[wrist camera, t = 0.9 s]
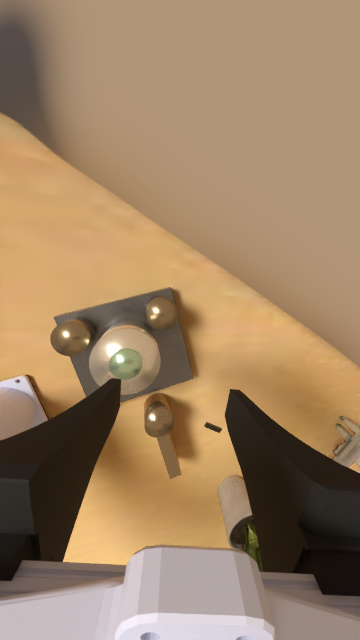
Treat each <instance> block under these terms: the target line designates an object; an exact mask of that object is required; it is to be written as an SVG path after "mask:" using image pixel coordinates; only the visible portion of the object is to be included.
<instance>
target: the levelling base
mask: <svg viewBox="0 0 360 640" xmlns="http://www.w3.org/2000/svg"><path fill="white" fill-rule="evenodd" d="M178 317H179V310H178V308H177V306H176V304H175V302H174V298H173V294H172V290H171V287H169V288H165V289H161V290H157V291H153V292H149V293H145V294H141V295H137V296H133V297H129V298H125V299H121V300H117V301H113V302H109V303H105V304H101V305H97V306H93V307H89V308H85V309H81V310H77V311H73V312H69V313H65V314H61V315H58V316H55V317H54V319H55V321H56V324H57V327H56V328H55V329H54V330H53V331H52V333H51V344H52V346H53V348H54V349H55V350H56V351H57V352H58V353H60V354H62V355H65V356H70V358H71V361H72V363H73V366H74V368H75V371H76V373H77V376H78V378H79V380H80V383H81V385H82V388H83V390H84V393H85V395H86V397H88V396H89V395H90V394H92V393H93V392H94V391H96V390H97V389H98V388H99V387H101V386H102V385H103V384H105V383H106V382H107V381H108V380H110V379H111V378H117V379H121V396H120V402H123V401H126V400H129V399H132V398H135V397H138V396H141V395H144V394H147V393H150V392H153V391H156V390H159V389H162V388H165V387H168V386H172V385H175V384H178V383H181V382H184V381H187V380H190V379H193V375H192V371H191V367H190V363H189V359H188V355H187V351H186V347H185V343H184V339H183V334H182V330H181V326H180V322H179V318H178ZM205 427H206V428H209V429H211V430H214V431H216V432H218V433H220V431H221V430H222V429H221V428H219V427H216V426H214V425H212V424H209V423H207V422H206V424H205Z"/></svg>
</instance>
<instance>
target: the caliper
mask: <svg viewBox="0 0 360 640" xmlns="http://www.w3.org/2000/svg"><path fill="white" fill-rule="evenodd" d="M339 418H340V419H341V420H342V421H343V422H344V423H345V424H346V425H347V426H348V427H349V428H350V429H351V430H352V431H353V432H354V433H355V435H354V436H353V437H352V435H351V434H350V433H349V432H348V431H347V430H346V429H345V428H344V427H342V426H341V425H340V424H336V428H337V429H338V431H339V433H340V434H341V436H342V437H343V439H344V441H345V442H344V443H343V444H339V445H337V447H336V449H334V450H333V453H334V454H335V455H336V456H335V458H334V459H333V460H334V461H336V462H338V463H340V464H341V465H343V466H346V467H350V466H351V465H352V464H353V463H354V462H355V461H356V460H357V458H358V457H359V456H360V426H358V425H357V424H355V423H354V422H352V421H351V420H349V419H348V418H346V417H339Z"/></svg>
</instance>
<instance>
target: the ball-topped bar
mask: <svg viewBox="0 0 360 640" xmlns="http://www.w3.org/2000/svg"><path fill="white" fill-rule="evenodd" d="M144 416H145V431H146V432H147V434H148V435H150V436H152V437H157V440H158V443H159V446H160V449H161V452H162V455H163V458H164V461H165V464H166V467H167V471H168V474H169V477H170V479H171V478H173V477H176V476H178V475H181V471H180V466H179V461H178V456H177V452H176V449H175V446H174V442H173V439H172V436H171V432H170V431H171V429H172V427H173V418H172V414H171V409H170V404H169V400H168V398H167V397H166V396H165V395H162V394H154V395H151V396H150V397H149V398H148V399H147V400H146V401H145V405H144Z"/></svg>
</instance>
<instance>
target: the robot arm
mask: <svg viewBox="0 0 360 640" xmlns="http://www.w3.org/2000/svg"><path fill="white" fill-rule="evenodd" d="M17 380H20V382H18V381H17ZM120 396H121V379H117V378H111V379H110V380H108V381H107V382H106V383H105V384H103V385H102V386H101V387H99V388H98V389H97V390H96V391H94V392H93V393H92V394H90V395H89V396H88V397H86V398H85V399H83V400H82V401H80V402H79V403H77V404H76V405H74V406H73V407H71V408H69V409H68V410H66V411H64V412H62V413H61V414H59V415H57V416H55V417H53V418H51V419H49V420H48V418H47V416H46V414H45V412H44V410H43V408H42V406H41V404H40V402H39V399H38V397H37V395H36V393H35V391H34V389H33V387H32V385H31V383H30V381H29V378H28V377H27V376H26V375H21V376H18V377H14V378H11V379H7V380H4V381H1V382H0V640H360V473H358V472H356V471H354V470H352V469H350V468H347V467H345V466H343V465H341V464H340V463H338V462H336V461H334V460H332V459H330V458H329V457H327V456H325V455H323V454H322V453H320V452H318V451H316V450H315V449H313V448H312V447H310V446H308V445H307V444H305V443H304V442H302V441H301V440H299V439H298V438H296V437H295V436H293V435H292V434H291V433H289V432H288V431H286V430H285V429H284V428H282V427H281V426H280V425H278V424H277V423H276V422H275V421H274V420H272V419H271V418H270V417H269V416H268V415H266V414H265V413H264V412H263V411H262V410H261V409H260V408H259V407H257V406H256V405H255V404H254V403H253V402H252V401H251V400H250V399H249V398H248V397H247V396H246V395H245V394H244V393H242V392H241V391H240V390H234V389H230V393H229V398H228V403H227V407H226V412H225V418H226V423H227V428H228V432H229V435H230V438H231V441H232V444H233V447H234V450H235V453H236V456H237V459H238V462H239V465H240V468H241V471H242V474H243V478H244V482H245V486H246V490H247V494H248V499H249V503H250V508H251V512H252V516H253V521H254V526H255V531H256V536H257V541H258V546H259V551H260V556H261V562H262V567H263V572H259V568H258V565H257V562H256V561H254V560H253V559H252V558H251V557H250V556H249V555H248V554H247V553H246V552H244V551H239V550H235V549H230V548H212V547H193V546H175V545H155V546H146V547H145V548H143V549H141V550H139V551H137V552H136V553H134V554H133V555H132V556H131V558H130V560H129V562H128V564H127V565H111V564H90V563H70V562H63V559H64V555H65V552H66V549H67V546H68V543H69V540H70V537H71V534H72V531H73V528H74V525H75V521H76V518H77V515H78V512H79V509H80V507H81V504H82V501H83V498H84V495H85V492H86V489H87V486H88V484H89V481H90V478H91V475H92V472H93V470H94V467H95V464H96V462H97V460H98V457H99V455H100V453H101V451H102V449H103V446H104V444H105V442H106V440H107V438H108V436H109V433H110V431H111V429H112V427H113V425H114V422H115V420H116V417H117V414H118V411H119V408H120Z"/></svg>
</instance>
